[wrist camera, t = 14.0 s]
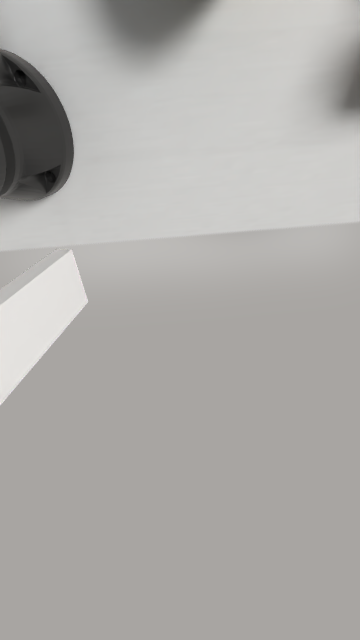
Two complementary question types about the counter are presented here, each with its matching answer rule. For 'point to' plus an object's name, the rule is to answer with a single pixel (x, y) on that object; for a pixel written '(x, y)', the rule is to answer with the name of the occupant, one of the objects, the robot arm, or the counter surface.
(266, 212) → the counter surface
